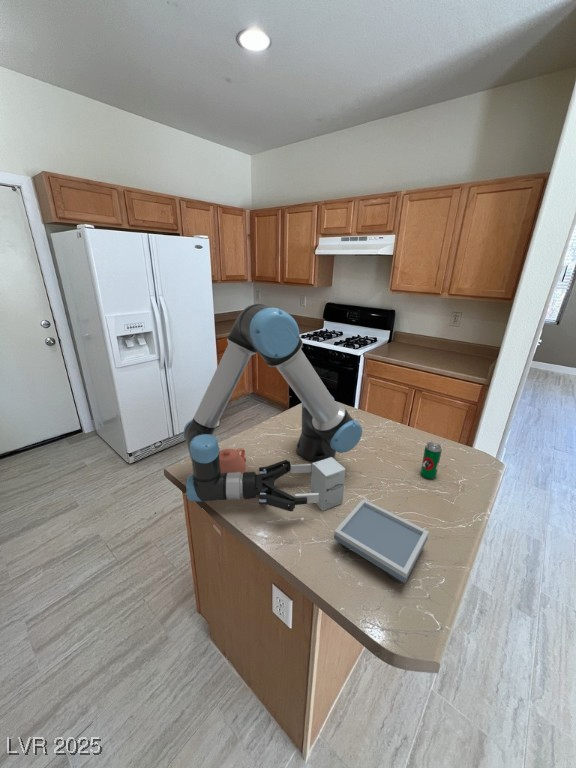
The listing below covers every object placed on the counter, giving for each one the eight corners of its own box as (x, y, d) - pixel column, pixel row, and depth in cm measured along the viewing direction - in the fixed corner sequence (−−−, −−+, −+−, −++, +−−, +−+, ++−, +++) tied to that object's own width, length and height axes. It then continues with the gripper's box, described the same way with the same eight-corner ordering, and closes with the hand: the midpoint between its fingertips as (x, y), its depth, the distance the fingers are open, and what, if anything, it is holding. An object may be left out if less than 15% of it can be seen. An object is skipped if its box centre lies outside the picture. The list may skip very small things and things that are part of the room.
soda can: (437, 481, 104) (444, 450, 100) (421, 479, 105) (427, 448, 101) (434, 472, 109) (440, 442, 105) (418, 470, 110) (424, 440, 106)
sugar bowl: (202, 476, 106) (200, 450, 102) (235, 459, 115) (234, 435, 112) (224, 493, 98) (222, 466, 94) (257, 473, 108) (256, 448, 104)
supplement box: (323, 512, 91) (325, 476, 86) (309, 496, 97) (311, 462, 92) (343, 504, 94) (346, 468, 90) (329, 489, 100) (331, 455, 96)
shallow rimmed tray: (333, 548, 79) (334, 530, 77) (361, 514, 90) (362, 498, 88) (403, 592, 68) (406, 574, 66) (425, 548, 79) (428, 531, 77)
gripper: (245, 470, 103) (308, 467, 105) (240, 529, 80) (321, 524, 82) (244, 450, 101) (308, 448, 102) (239, 505, 78) (322, 501, 79)
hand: (314, 481), depth 92 cm, fingers open, 13 cm apart
